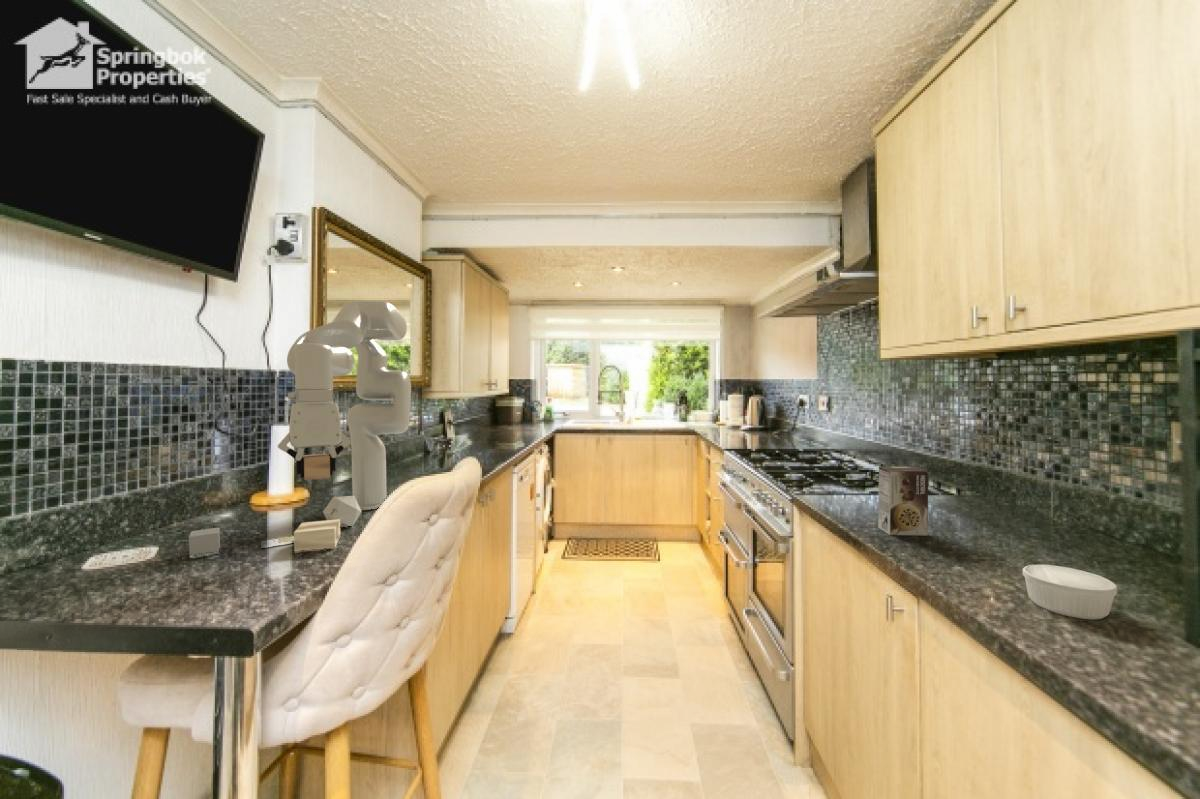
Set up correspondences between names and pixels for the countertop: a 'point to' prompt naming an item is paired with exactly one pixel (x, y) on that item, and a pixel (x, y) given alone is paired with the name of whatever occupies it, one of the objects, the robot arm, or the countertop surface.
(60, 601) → the countertop surface
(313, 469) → the walnut block
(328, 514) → the die
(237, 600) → the countertop surface
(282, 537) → the card
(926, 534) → the cookie box
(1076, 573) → the ramekin
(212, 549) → the slate block
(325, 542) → the birch base block
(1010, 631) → the countertop surface
